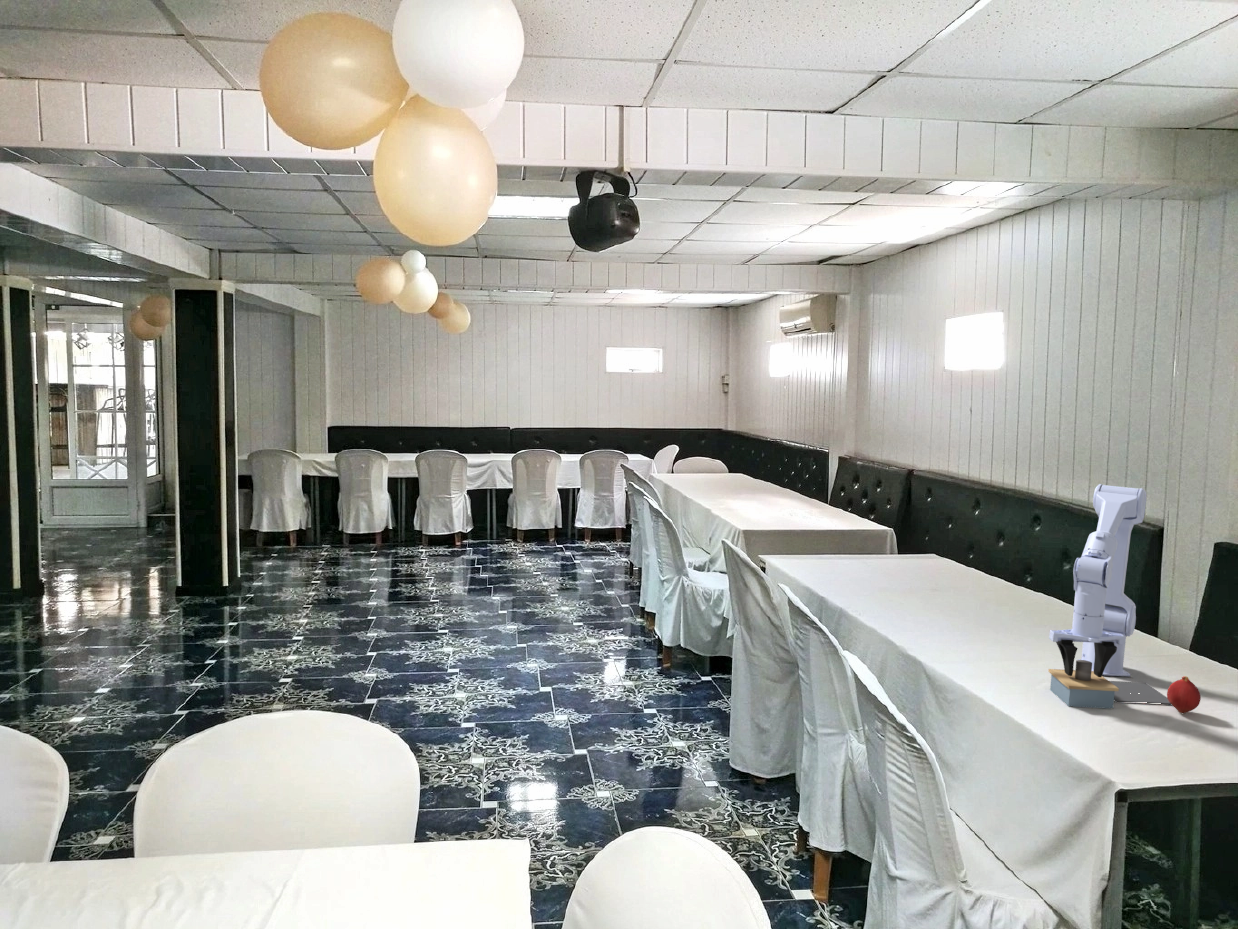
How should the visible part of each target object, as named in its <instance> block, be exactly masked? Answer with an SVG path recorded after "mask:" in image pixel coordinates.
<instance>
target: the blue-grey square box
mask: <svg viewBox="0 0 1238 929" xmlns="http://www.w3.org/2000/svg"><path fill="white" fill-rule="evenodd" d="M1050 675H1051V677H1050V686H1049V687H1050V688H1049V690H1050V691H1051V693H1053V694H1054V695H1055V696H1056V695H1057V696H1058V697H1057V696H1056V697H1057V698H1059V699H1060V700H1061V702H1063V703H1064V702H1065V703H1066V704H1067V707H1071V706H1073V707H1075V708H1092V709H1093V708H1094V709H1097V708H1098V709H1111V708H1113V709H1114V702H1115V701H1114V694H1115V691H1103V690H1082V689H1068V688H1067V687H1066V686H1065V685H1064V684H1062V683H1061V682H1060V681H1059V680H1058V679H1057V678H1055V677H1054V676H1053V675H1052V674H1051V673H1050ZM1065 703H1064V704H1065ZM1066 704H1065V705H1066Z"/></svg>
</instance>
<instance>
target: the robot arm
mask: <svg viewBox="0 0 1238 929" xmlns="http://www.w3.org/2000/svg"><path fill="white" fill-rule="evenodd" d="M1146 504H1147V491H1146V490H1145V489H1144V487H1140V488H1137V487H1126V486H1117V485H1116V486H1115V485H1107V484H1102V483H1098V484H1097V486H1096V487H1095V488H1094V492H1093V496H1092V505H1093V508H1094V510H1095V513H1096V515H1097V518H1098V522H1097V527H1096V531H1093V532H1091V533H1089V535H1088V537H1087V540H1086V543H1085V545H1084V548H1083V550H1082V554H1081V556H1080V557H1076V559H1075V561H1074V564H1073V570H1072V572H1073V573H1072V574H1073V591H1075V593H1074V603H1073V614H1072V615H1073V616H1072V624H1071V625H1072V626H1071V628H1069V629H1068V628H1067V629H1056V630H1052V629H1050V630H1049V634H1048V639H1049V640H1050V641H1052V642H1053V643H1056V645H1057V647H1058V650H1059V652H1060V655H1061V658H1062V662H1063V668H1064V669H1063V670H1065V673H1066V674H1067V675H1069V676H1072V674H1073V670H1074V664H1075V659H1076V658H1075V657H1076V654H1077V651H1078V647H1077V646H1075V642H1076V643H1082V646H1081V647H1082V649H1081V659H1080V658H1079V659H1077V660H1086V661H1089V662H1091V663H1092V671H1094V674H1095V675H1096V676H1098V677H1102V676H1107V677H1108V676H1112V677H1131V673H1130V672H1128V671H1126V670H1125V669H1124V663H1125V662H1124V660H1125V652H1126V651H1125V650H1126V643H1127V641H1126V639H1127V637H1130V636H1132V635H1133V634H1134V631H1135V626H1136V621H1137V616H1136V615H1137V614H1136V609H1137V606H1136V604H1135V602H1134V601H1133V600H1132V599H1131V598H1130V597H1128V596H1127V595H1126V594H1125V593H1124V592H1125V584H1126V577H1127V576H1126V575H1127V566H1128V562H1129V561H1128V560H1129V550H1130V543H1131V534H1132V532H1133V531H1132V530H1133V528H1134V526H1135V525H1137V524H1142V523H1143V522H1144V521H1143V520H1144V519H1145V515H1146Z"/></svg>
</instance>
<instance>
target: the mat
mask: <svg viewBox="0 0 1238 929" xmlns="http://www.w3.org/2000/svg"><path fill="white" fill-rule="evenodd" d="M1108 681H1109V682H1111V683H1112V684H1113V685H1115V686H1116V687H1118V688H1119V691H1115V694H1114V700H1115V701H1114V702H1115V703H1117V702H1147V703H1161V704H1171V703H1170V702H1169V700H1168V698H1167V695H1166V696H1165V695H1164V694H1163V693H1161V692H1159V690H1157V689H1155V688H1154V687H1153V686H1151V685H1150V684H1148V683H1147V682H1141V681H1124V680H1123V681H1120V680H1119V681H1118V680H1108ZM1130 693H1131V694H1130ZM1138 693H1140V694H1138Z"/></svg>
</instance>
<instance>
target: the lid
mask: <svg viewBox="0 0 1238 929" xmlns="http://www.w3.org/2000/svg"><path fill="white" fill-rule="evenodd" d="M1048 673H1049V674H1050V675H1051V674H1052V675H1053V676H1054V677H1055V678H1057V679H1058V680H1059V681H1060V682H1061V683H1062V684H1064V685H1065V686H1066V687H1067V688H1068V689H1082V690H1103V691H1119V688H1118V687H1116V686H1115V685H1113V684H1112V683H1111V682H1109V681H1110V680H1108V679H1107V678H1105V676H1104V675H1102V677H1098V676H1096V675H1095V674H1094V671H1092V663H1091V662H1089V661H1086V660H1078V659H1077V660H1076V661H1075V669H1073V674H1072V676H1069V675H1067V674H1066V673H1065V670H1064V669H1056V668H1048Z"/></svg>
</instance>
